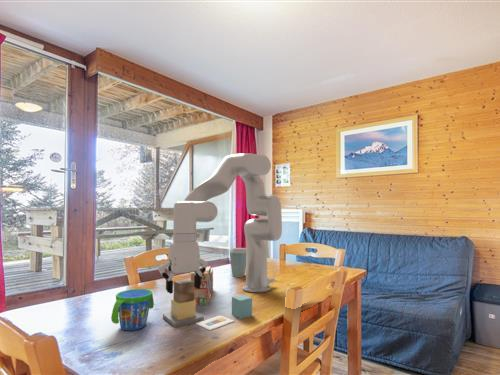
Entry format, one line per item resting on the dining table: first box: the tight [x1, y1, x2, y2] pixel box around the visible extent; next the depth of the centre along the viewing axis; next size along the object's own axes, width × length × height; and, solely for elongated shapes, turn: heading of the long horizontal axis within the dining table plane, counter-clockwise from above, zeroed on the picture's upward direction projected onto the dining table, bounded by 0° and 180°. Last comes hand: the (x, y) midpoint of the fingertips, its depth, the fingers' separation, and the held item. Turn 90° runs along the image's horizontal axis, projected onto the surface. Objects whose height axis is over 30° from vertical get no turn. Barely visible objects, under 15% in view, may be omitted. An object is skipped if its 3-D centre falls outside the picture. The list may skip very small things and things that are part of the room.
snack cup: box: [110, 288, 155, 331], centre depth 94 cm, size 16×10×10 cm
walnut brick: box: [173, 278, 194, 303], centre depth 100 cm, size 5×5×6 cm
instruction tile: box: [195, 314, 235, 331], centre depth 97 cm, size 10×7×1 cm
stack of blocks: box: [190, 265, 214, 306], centre depth 125 cm, size 21×6×12 cm, turn 1°
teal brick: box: [231, 294, 253, 319], centre depth 104 cm, size 5×5×6 cm
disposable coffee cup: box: [228, 247, 246, 278], centre depth 163 cm, size 11×11×15 cm
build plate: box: [162, 298, 205, 328], centre depth 100 cm, size 10×10×6 cm
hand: (183, 290), depth 100 cm, fingers open, 9 cm apart
